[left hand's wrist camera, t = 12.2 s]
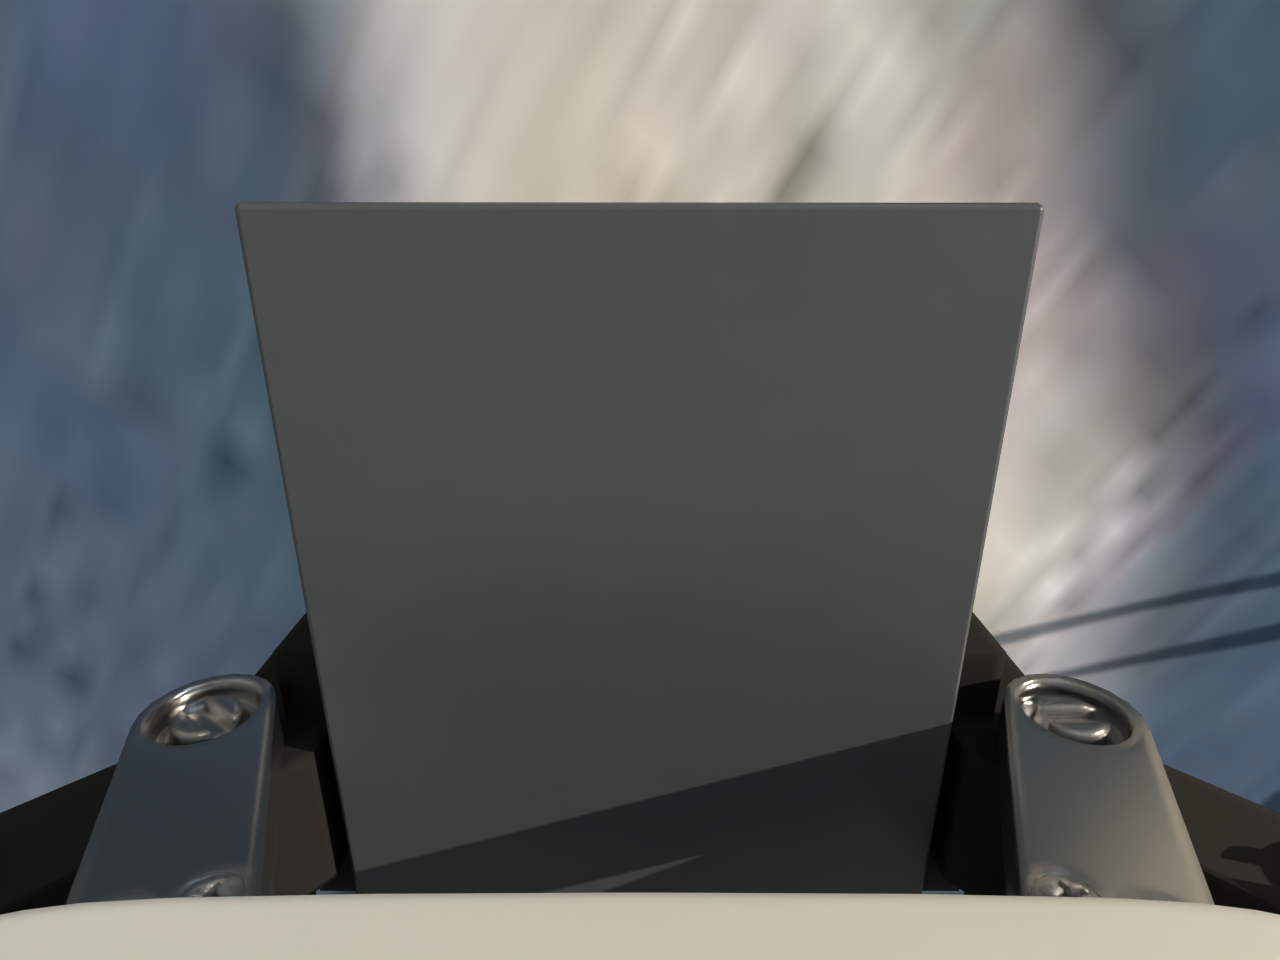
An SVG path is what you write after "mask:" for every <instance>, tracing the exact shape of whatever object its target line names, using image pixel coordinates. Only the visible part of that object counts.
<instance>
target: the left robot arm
mask: <svg viewBox="0 0 1280 960" xmlns="http://www.w3.org/2000/svg"><path fill="white" fill-rule="evenodd" d="M318 889H320V891H356V887H355V882H354V876H353V870H352V865H351V859H350V854H349V848H348V842H347V837H346V831H345V826H344V820H343V814H342V809H341V803H340V797H339V792H338V786H337V781H336V775H335V769H334V764H333V758H332V752H331V747H330V741H329V736H328V730H327V724H326V719H325V713H324V708H323V702H322V696H321V691H320V685H319V679H318V674H317V668H316V663H315V657H314V651H313V646H312V640H311V634H310V629H309V623H308V618H307V612H306V613H305V615H304V616H303V617H302V618H301V619H300V621H299V622H298V623H297V624H296V625H295V627H294V628H293V629H292V630H291V631H290V633H289V634H288V635H287V636H286V637H285V639H284V640H283V641H282V642H281V643H280V645H279V646H278V647H277V648H276V649H275V651H274V652H273V654H272V655H271V656H270V658H269V659H268V660H267V661H266V662H265V664H264V665H263V666H262V667H261V668H260V670H259V671H258V672H257V673H256V674H255V676H254V675H247V674H229V675H221V676H213V677H210V678H206V679H202V680H198V681H195V682H192V683H189V684H187V685H184V686H182V687H180V688H177V689H175V690H172V691H171V692H169V693H167V694H166V695H164V696H162V697H161V698H159V699H157V700H156V701H154V702H153V703H151V704H150V705H149V706H148V707H147V708H146V709H145V710H144V711H142V712H141V713H140V714H139V715H138V717H137V719H136V720H135V722H134V723H133V725H132V726H131V728H130V731H129V734H128V737H127V739H126V742H125V745H124V747H123V750H122V753H121V756H120V758H119V761H118V764H115V765H113V766H110V767H108V768H106V769H103V770H101V771H99V772H96V773H94V774H92V775H89V776H87V777H85V778H82V779H80V780H77V781H75V782H73V783H70V784H68V785H66V786H63V787H61V788H59V789H56V790H54V791H51V792H49V793H47V794H44V795H42V796H40V797H37V798H35V799H33V800H30V801H28V802H25V803H23V804H21V805H18V806H16V807H14V808H11V809H9V810H7V811H4V812H2V813H0V960H1280V813H1278V812H1275V811H1273V810H1271V809H1268V808H1266V807H1264V806H1261V805H1259V804H1256V803H1254V802H1252V801H1249V800H1247V799H1245V798H1242V797H1240V796H1238V795H1235V794H1233V793H1230V792H1228V791H1226V790H1223V789H1221V788H1219V787H1216V786H1214V785H1211V784H1209V783H1207V782H1204V781H1202V780H1200V779H1197V778H1195V777H1193V776H1190V775H1188V774H1185V773H1183V772H1181V771H1178V770H1176V769H1174V768H1171V767H1169V766H1167V765H1164V764H1162V761H1161V758H1160V756H1159V753H1158V750H1157V747H1156V745H1155V742H1154V739H1153V737H1152V734H1151V731H1150V728H1149V726H1148V725H1147V723H1146V722H1145V720H1144V719H1143V717H1142V715H1141V714H1140V713H1139V712H1138V711H1136V710H1135V709H1134V708H1133V707H1132V706H1131V705H1130V704H1129V703H1127V702H1126V701H1124V700H1123V699H1121V698H1119V697H1118V696H1116V695H1114V694H1113V693H1111V692H1109V691H1108V690H1105V689H1103V688H1100V687H1098V686H1096V685H1093V684H1091V683H1088V682H1085V681H1082V680H1078V679H1074V678H1070V677H1067V676H1059V675H1051V674H1033V675H1026V676H1025V675H1024V674H1023V673H1022V672H1021V671H1020V669H1019V668H1018V667H1017V666H1016V665H1015V663H1014V662H1013V661H1012V660H1011V659H1010V657H1009V656H1008V655H1007V654H1006V652H1005V650H1004V649H1003V648H1002V647H1001V646H1000V644H999V643H998V642H997V641H996V640H995V638H994V637H993V636H992V635H991V634H990V632H989V631H988V630H987V629H986V628H985V626H984V625H983V624H982V623H981V622H980V620H979V619H978V618H977V617H976V616H975V614H974V613H973V612H972V616H971V621H970V627H969V632H968V638H967V644H966V649H965V655H964V660H963V666H962V672H961V677H960V683H959V688H958V694H957V700H956V705H955V711H954V716H953V722H952V728H951V733H950V739H949V744H948V750H947V755H946V761H945V767H944V772H943V778H942V783H941V789H940V795H939V800H938V806H937V811H936V817H935V823H934V828H933V834H932V839H931V845H930V851H929V856H928V862H927V867H926V873H925V879H924V884H923V890H922V891H959V889H961V890H963V891H964V895H942V894H841V893H439V894H338V895H316V891H317V890H318Z"/></svg>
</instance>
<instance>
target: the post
mask: <svg viewBox="0 0 1280 960" xmlns="http://www.w3.org/2000/svg"><path fill="white" fill-rule="evenodd" d="M235 213H236V219H237V224H238V230H239V236H240V241H241V247H242V252H243V258H244V264H245V269H246V275H247V281H248V286H249V292H250V297H251V303H252V309H253V314H254V320H255V325H256V331H257V337H258V342H259V348H260V354H261V359H262V365H263V370H264V376H265V382H266V387H267V393H268V399H269V404H270V410H271V415H272V421H273V427H274V432H275V438H276V443H277V449H278V455H279V460H280V466H281V472H282V477H283V483H284V488H285V494H286V500H287V505H288V511H289V516H290V522H291V528H292V533H293V539H294V545H295V550H296V556H297V561H298V567H299V573H300V578H301V584H302V590H303V595H304V601H305V606H306V612H307V618H308V623H309V629H310V634H311V640H312V646H313V651H314V657H315V663H316V668H317V674H318V679H319V685H320V691H321V696H322V702H323V708H324V713H325V719H326V724H327V730H328V736H329V741H330V747H331V752H332V758H333V764H334V769H335V775H336V781H337V786H338V792H339V797H340V803H341V809H342V814H343V820H344V826H345V831H346V837H347V842H348V848H349V854H350V859H351V865H352V870H353V876H354V882H355V887H356V893H357V894H439V893H841V894H922V890H923V884H924V879H925V873H926V867H927V862H928V856H929V851H930V845H931V839H932V834H933V828H934V823H935V817H936V811H937V806H938V800H939V795H940V789H941V783H942V778H943V772H944V767H945V761H946V755H947V750H948V744H949V739H950V733H951V728H952V722H953V716H954V711H955V705H956V700H957V694H958V688H959V683H960V677H961V672H962V666H963V660H964V655H965V649H966V644H967V638H968V632H969V627H970V621H971V616H972V610H973V605H974V599H975V593H976V588H977V582H978V577H979V571H980V565H981V560H982V554H983V549H984V543H985V537H986V532H987V526H988V521H989V515H990V509H991V504H992V498H993V493H994V487H995V481H996V476H997V470H998V465H999V459H1000V454H1001V448H1002V442H1003V437H1004V431H1005V426H1006V420H1007V414H1008V409H1009V403H1010V398H1011V392H1012V386H1013V381H1014V375H1015V370H1016V364H1017V358H1018V353H1019V347H1020V342H1021V336H1022V331H1023V325H1024V319H1025V314H1026V308H1027V303H1028V297H1029V291H1030V286H1031V280H1032V275H1033V269H1034V263H1035V258H1036V252H1037V247H1038V241H1039V235H1040V230H1041V224H1042V219H1043V213H1044V208H1043V205H1041V204H1039V203H501V202H241V203H239V204H237V205H236V206H235Z"/></svg>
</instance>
